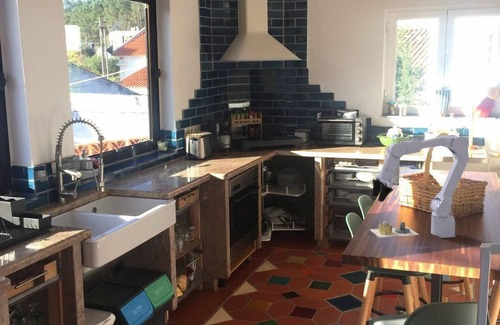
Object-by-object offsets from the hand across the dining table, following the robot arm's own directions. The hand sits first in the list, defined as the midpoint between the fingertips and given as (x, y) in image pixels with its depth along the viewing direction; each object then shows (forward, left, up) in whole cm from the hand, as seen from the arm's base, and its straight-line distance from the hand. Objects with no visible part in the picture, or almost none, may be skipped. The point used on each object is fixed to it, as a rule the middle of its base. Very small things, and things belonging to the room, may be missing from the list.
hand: (377, 198), depth 242 cm
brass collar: (-5, -2, -16) cm, 17 cm away
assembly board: (-9, -2, -17) cm, 19 cm away
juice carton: (-49, -103, -17) cm, 115 cm away
